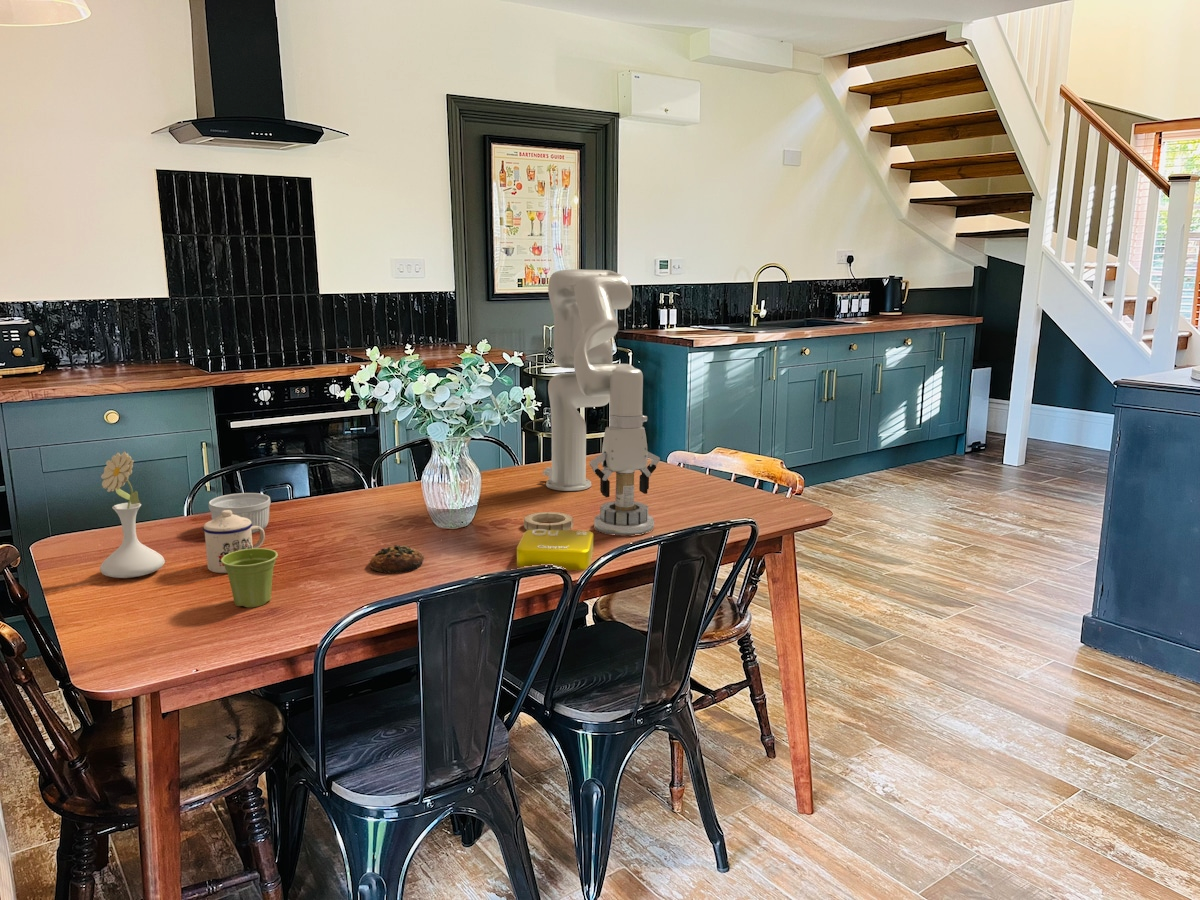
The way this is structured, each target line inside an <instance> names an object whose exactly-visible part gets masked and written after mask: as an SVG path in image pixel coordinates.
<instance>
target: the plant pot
mask: <svg viewBox="0 0 1200 900" xmlns="http://www.w3.org/2000/svg"><path fill="white" fill-rule="evenodd" d="M278 556H279V555H278V552H277V551H276V550H274V549H271V548H261V547H259V548H252V549H244V550H239V551H235V552H231V553H229V554H227V555H225V556H223V558H222V559H221V562H222V563H223V564H224V566H225V569H226V571H227V573H226V574H227V575H228V581H229V585H230V588H231V589H230V590H231V592H232V596H233V597H232V598H233V602H234V604H235V606H237V607H246V608H252V609H253V608H256V607H261V606H264V605H266V603H267V602H271V599H272V590H273V589H272V588H273V587H272V586H273V585H272V584H273V575H274V567H275V564H276V559H277V558H278Z"/></svg>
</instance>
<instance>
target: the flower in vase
mask: <svg viewBox="0 0 1200 900" xmlns="http://www.w3.org/2000/svg"><path fill="white" fill-rule="evenodd" d="M105 464H106V466H104V468H103V473H102V474H101V476H100V478H101V479H102V482H101V486H102V489H107V490H106V491H107V492H108V493H110V492H115V494H116V495H118V496H119V497H121V498H123V499H125V500H128V502H122V503H117V504H114V505H113V506H112V507H111V508H112V509H113V511H114V512H115V513H116V514H117V516H118V517H119V521H120V522H121V527H122V534H123V535H122V536H123V538H122V542H121V544H120V546H119V547H117V548H116V550H114V551H113V552H112V553H111V554H110V555H108V557H106V558H105V560H103V562H102V563H101V565H100V567H99V571H100V572H101V574H102V575H104V576H106V577H110V578H114V579H115V578H116V579H129V578H137V577H142V576H146V575H149V574H152V573H155V572H156V571H159V570H161V568H163V566H164V565H165V562H166V560H165V558H164V556H163V555H162V554H160V553H159V552H158V551H156V550H154V549H152V548H150V547H148V546H147V545H145V544H144V543H142V542H140V541H139V539H138V536H137V530H136V529H137V527H136V524H137V523H136V521H137V520H136V519H137V514H138V511H139V509H140V507H141V506H142V503H141V501H140V500H139V499H140V498H139V494H138V491H137V490H135V491H134V489H133V487H132V484H131V482H130V480H129V476H131V475H132V474H133V470H132V469H133V467H134V465H133V464H134V460H133V459H132V457H131V455H129V452H127V453H126V451H123V452H122V453H121V454H120V452H116V453H115V455H112V456H111V460H110V459H108V460H107V461H106V462H105ZM126 483H127V484H128V486H129V489H130V494H129V493H128V492H126V491H125V490H122V487H124V486H125V484H126Z"/></svg>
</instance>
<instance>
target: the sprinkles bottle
mask: <svg viewBox="0 0 1200 900" xmlns="http://www.w3.org/2000/svg"><path fill="white" fill-rule="evenodd" d="M635 472H636V470H625V471H621V472H615V475H616V476H615V498H614V499H615V505H616V507H615V510H618V511H633V506H634V502H635V474H636V473H635Z"/></svg>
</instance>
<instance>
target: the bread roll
mask: <svg viewBox="0 0 1200 900" xmlns="http://www.w3.org/2000/svg"><path fill="white" fill-rule="evenodd" d="M424 559H425V557H424V555H423V553H422V552H421V551H419V550H417V549H416V548H413V547H410V546H407V545H402V546H401V545H397V544H396V545H395V544H394V545H393V546H388V547H387V548H386V547H385V548H382V549H380V550H378V551H377V552H376V553H375V554H374V555H373V556H372V557H371V559H370V560H369V567H370V569H372V570H373V571H377V572H380V573H381V572H382V573H387V574H402V573H409V572H413V571H416V570H417V569H418V568H420V567H421V566H423V562H424Z"/></svg>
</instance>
